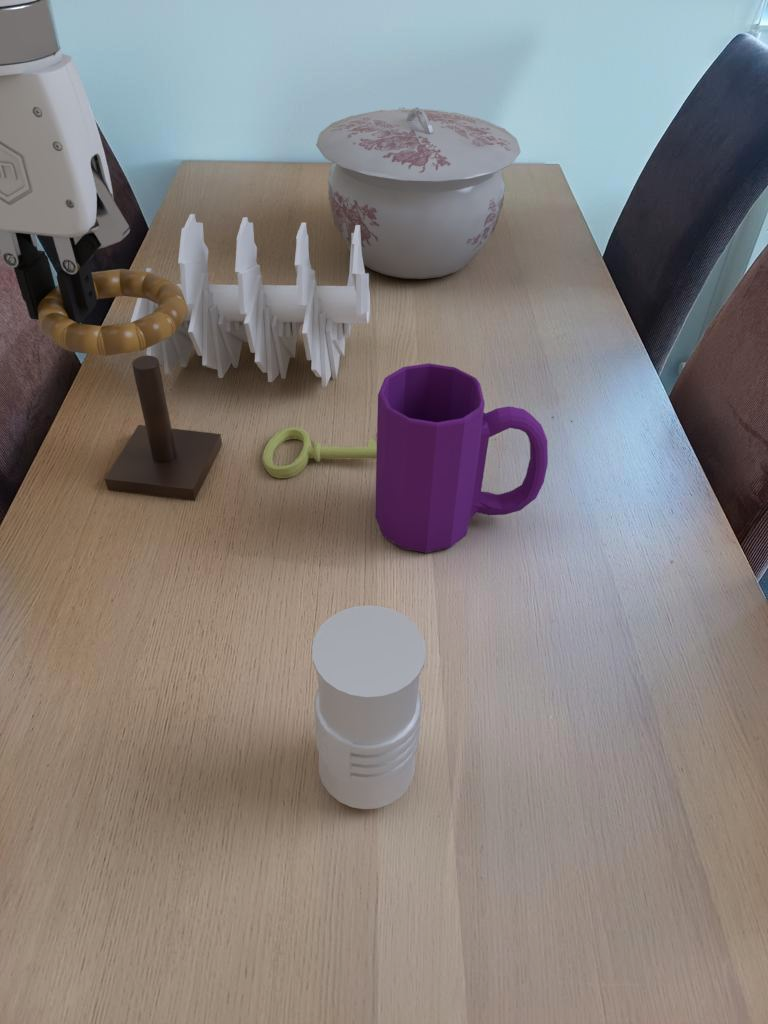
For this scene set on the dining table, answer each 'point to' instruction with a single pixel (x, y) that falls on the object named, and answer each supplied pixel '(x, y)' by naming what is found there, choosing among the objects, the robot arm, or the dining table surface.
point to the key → (310, 452)
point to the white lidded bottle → (367, 704)
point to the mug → (443, 456)
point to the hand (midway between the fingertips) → (63, 311)
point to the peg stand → (161, 446)
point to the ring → (119, 335)
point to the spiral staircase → (260, 309)
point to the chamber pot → (417, 187)
